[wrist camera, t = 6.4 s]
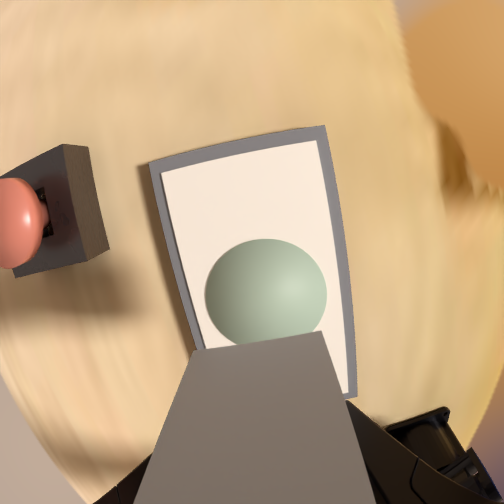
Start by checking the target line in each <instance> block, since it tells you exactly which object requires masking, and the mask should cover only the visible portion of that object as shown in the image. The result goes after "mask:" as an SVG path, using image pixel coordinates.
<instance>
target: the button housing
mask: <svg viewBox="0 0 504 504" xmlns="http://www.w3.org/2000/svg"><path fill="white" fill-rule="evenodd" d="M5 178H20V179H23V180H25V181H26V182H27V183H28V184H29V185H30V186H31V187H32V188H33V189H34V191H35V193H36V195H37V197H38V199H41V196H42V195H44V194H45V195H46V200H47V205H48V210H49V215H50V219H51V224H52V228H53V232H54V235H49V231H48V228H47V229H45V230H43V235H42V241H41V244H40V247H39V249H38V251H37V253H36V254H35V256H34V257H33V258H32V259H31V260H29V261H28V262H25V263H23V264H21V265H19V266H16V267H14V268H12V269H13V272H14V276H15V278H18V277H22V276H26V275H30V274H34V273H38V272H42V271H46V270H51V269H55V268H59V267H63V266H67V265H72V264H76V263H80V262H85V261H88V260H90V259H92V258H94V257H96V256H98V255H99V254H101V253H103V252H105V251H107V250H109V249H110V248H109V244H108V240H107V236H106V232H105V228H104V224H103V220H102V216H101V211H100V207H99V202H98V198H97V193H96V188H95V183H94V178H93V173H92V167H91V161H90V155H89V149H88V147H86V146H77V145H69V144H61V145H59V146H57V147H55V148H53V149H51V150H49V151H47V152H45V153H43V154H41V155H39V156H37V157H35V158H33V159H31V160H29V161H27V162H25V163H23V164H22V165H20V166H18V167H16V168H14V169H13V170H11V171H9V172H7V173H6V174H4V175H2V176H0V179H5Z"/></svg>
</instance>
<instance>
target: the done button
mask: <svg viewBox="0 0 504 504" xmlns="http://www.w3.org/2000/svg"><path fill="white" fill-rule="evenodd" d="M50 223H51V219H50V215H49V210H48V205H47V201H45V200H43V199H38V197H37V195H36V193H35V191H34V189H33V188H32V187H31V186H30V185H29V184H28V183H27V182H26V181H25V180H23V179H20V178H5V179H0V267H2V268H5V269H11V268H14V267H16V266H19V265H21V264H23V263H25V262H28V261H29V260H31V259H32V258H33V257H34V256H35V254H36V253H37V251H38V249H39V247H40V244H41V241H42V235H43V230H45V229H47V228H48V227H49V225H50Z"/></svg>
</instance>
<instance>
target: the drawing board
mask: <svg viewBox="0 0 504 504" xmlns="http://www.w3.org/2000/svg"><path fill="white" fill-rule="evenodd" d="M149 168H150V173H151V178H152V183H153V188H154V192H155V197H156V201H157V206H158V210H159V215H160V219H161V223H162V227H163V232H164V236H165V240H166V244H167V248H168V252H169V255H170V259H171V263H172V267H173V271H174V274H175V278H176V282H177V285H178V289H179V292H180V296H181V299H182V303H183V306H184V310H185V313H186V316H187V320H188V323H189V326H190V329H191V333H192V336H193V339H194V342H195V345H196V348H197V350H200V349H209V348H217V347H224V346H232V345H239V344H246V343H252V342H259V341H265V340H271V339H277V338H283V337H289V336H294V335H300V334H305V333H310V332H315V331H320V330H321V331H322V334H323V337H324V339H325V342H326V345H327V348H328V351H329V354H330V357H331V360H332V363H333V366H334V369H335V372H336V375H337V378H338V381H339V384H340V387H341V390H342V393H343V396H344V399H349V398H354V397H357V365H356V345H355V330H354V316H353V304H352V294H351V284H350V274H349V266H348V257H347V249H346V242H345V234H344V227H343V221H342V214H341V208H340V202H339V195H338V190H337V184H336V178H335V173H334V168H333V162H332V157H331V152H330V147H329V142H328V138H327V133H326V128H325V125H321V126H314V127H307V128H301V129H295V130H289V131H283V132H277V133H271V134H266V135H261V136H256V137H250V138H246V139H241V140H236V141H231V142H227V143H222V144H218V145H214V146H209V147H205V148H201V149H197V150H193V151H189V152H185V153H181V154H178V155H174V156H170V157H167V158H163V159H160V160H156V161H153V162H149Z"/></svg>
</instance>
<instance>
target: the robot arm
mask: <svg viewBox="0 0 504 504" xmlns="http://www.w3.org/2000/svg"><path fill="white" fill-rule="evenodd" d="M345 402H346V405H347V408H348V411H349V415H350V418H351V421H352V424H353V427H354V431H355V434H356V437H357V440H358V444H359V447H360V450H361V453H362V457H363V460H364V464H365V467H366V470H367V474H368V477H369V481H370V484H371V488H372V491H373V495H374V498H375V502H376V504H504V502H501V501H502V500H503V499H502V497H501V495H500V493H499V491H498V489H497V488H496V486H495V484H494V482H493V480H492V478H491V477H490V475H489V473H488V472H487V470H486V468H485V467H484V465H483V463H482V462H481V460H480V459H479V457H478V456H477V454H476V453H475V452H474V450H473V449H472V447H471V448H469V449H468V450H467V451H466V452H465V451H464V449H463V447H462V446H461V444H460V442H459V441H458V439H457V437H456V436H455V434H454V433H453V431H452V429H451V428H450V426H449V425H448V423H447V422H448V418H449V414H450V410H449V409H448V408H447V407H446V408H443V409H440V410H438V411H435V412H432V413H430V414H427V415H424V416H422V417H419V418H416V419H413V420H410V421H407V422H404V423H401V424H398V425H394V426H391V427H389V428H387V429H386V430H383V429H382V428H381V427H380V426H379V425H377V424H376V423H375V422H374V421H372V420H371V419H370V418H369V417H368V416H366V415H365V414H364V413H363V412H362V411H360V410H359V409H358V408H357V407H356V406H355V405H353V404H352V403H351V402H350V401H348V400H345ZM151 456H152V454H150V455H149V456H148V457H147V458H146V459H145V460H144V461H143V462H142V463H141V464H139V465H138V466H137V467H136V468H135V469H134V470H133V471H132V472H131V473H129V474H128V475H127V476H126V477H125V478H124V479H123V480H121V481H120V482H119V483H118V484H117V486H114V487H113V488H112V489H111V490H110V491H109V492H107V493H106V494H105V495H104V496H102V497H101V498H100V499H99V500H97V501H96V502H94V503H93V504H133V503H134V501H135V498H136V495H137V493H138V490H139V487H140V485H141V482H142V479H143V477H144V474H145V472H146V469H147V466H148V464H149V461H150V458H151ZM477 471H478V473H477V474H475V473H476V472H477ZM473 474H475V475H473Z"/></svg>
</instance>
